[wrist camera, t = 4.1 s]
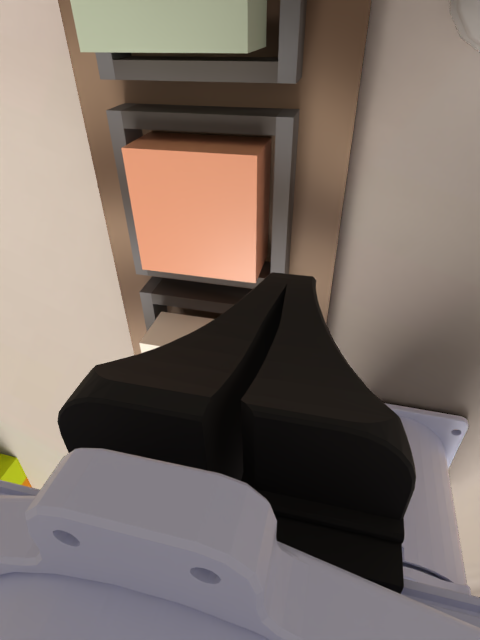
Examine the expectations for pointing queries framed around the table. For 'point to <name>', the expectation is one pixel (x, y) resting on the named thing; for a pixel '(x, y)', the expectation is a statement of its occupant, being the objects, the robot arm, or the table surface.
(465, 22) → the rook chess piece
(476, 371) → the table surface
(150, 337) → the cream button
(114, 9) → the sage button
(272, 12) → the button board
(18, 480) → the puzzle toy
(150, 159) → the terracotta button
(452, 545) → the robot arm
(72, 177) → the table surface
